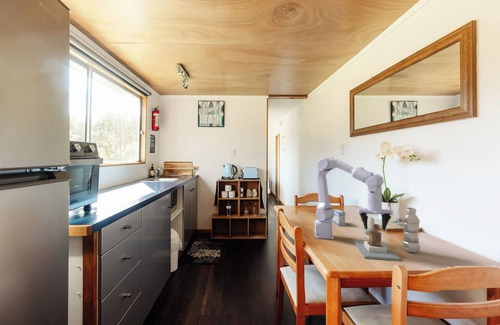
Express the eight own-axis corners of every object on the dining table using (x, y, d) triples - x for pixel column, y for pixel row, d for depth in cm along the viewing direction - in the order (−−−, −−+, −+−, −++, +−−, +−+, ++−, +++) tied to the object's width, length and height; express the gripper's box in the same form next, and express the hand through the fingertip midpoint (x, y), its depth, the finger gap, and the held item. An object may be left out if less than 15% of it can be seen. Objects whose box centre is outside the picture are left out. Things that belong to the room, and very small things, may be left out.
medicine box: (333, 222, 148) (333, 209, 148) (339, 222, 149) (339, 209, 148) (338, 226, 140) (338, 212, 140) (345, 225, 141) (345, 212, 141)
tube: (375, 230, 121) (375, 218, 142) (365, 225, 123) (366, 214, 145) (372, 238, 122) (372, 225, 143) (362, 234, 124) (364, 222, 146)
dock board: (364, 258, 95) (364, 251, 95) (353, 242, 113) (353, 236, 113) (400, 260, 93) (400, 253, 93) (383, 244, 110) (383, 238, 110)
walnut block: (371, 250, 101) (371, 233, 101) (368, 246, 105) (368, 230, 105) (381, 250, 100) (381, 233, 100) (378, 247, 104) (378, 230, 104)
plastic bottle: (421, 255, 97) (421, 210, 97) (402, 252, 101) (402, 209, 100) (419, 250, 103) (419, 207, 102) (401, 247, 106) (401, 206, 106)
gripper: (360, 201, 100) (360, 231, 100) (395, 202, 97) (395, 233, 97) (356, 198, 107) (356, 226, 107) (389, 199, 104) (389, 228, 104)
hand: (374, 229), depth 103 cm, fingers open, 7 cm apart
